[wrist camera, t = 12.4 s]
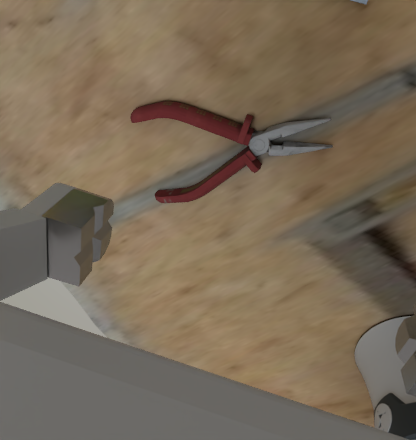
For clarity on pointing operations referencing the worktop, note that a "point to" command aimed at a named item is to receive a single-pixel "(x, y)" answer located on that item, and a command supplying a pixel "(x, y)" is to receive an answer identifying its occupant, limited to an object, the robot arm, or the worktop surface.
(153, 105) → the pliers
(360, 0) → the shaft block
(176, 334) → the worktop surface
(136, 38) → the worktop surface
